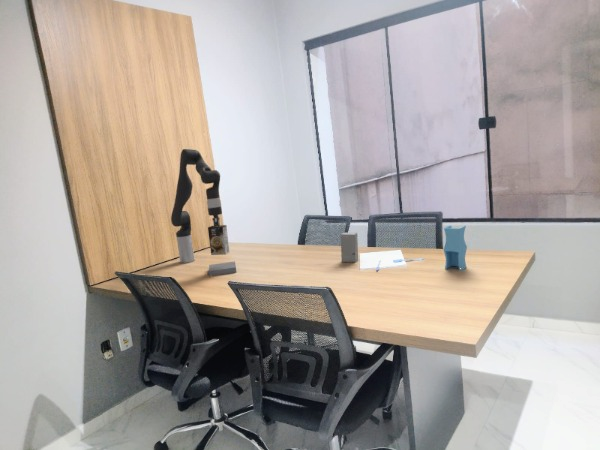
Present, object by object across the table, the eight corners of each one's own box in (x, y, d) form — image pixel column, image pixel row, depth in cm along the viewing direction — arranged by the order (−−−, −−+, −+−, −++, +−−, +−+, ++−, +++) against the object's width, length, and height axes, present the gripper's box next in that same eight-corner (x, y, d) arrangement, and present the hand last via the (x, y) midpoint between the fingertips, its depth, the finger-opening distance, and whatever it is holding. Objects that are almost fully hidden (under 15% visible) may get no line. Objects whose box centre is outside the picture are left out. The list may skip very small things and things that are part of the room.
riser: (210, 269, 244) (209, 264, 244) (235, 266, 247) (234, 261, 246) (209, 276, 230) (208, 271, 229) (236, 272, 232) (235, 267, 232)
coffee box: (210, 255, 235) (207, 227, 232) (215, 252, 241) (211, 225, 238) (225, 254, 233) (222, 226, 230) (230, 252, 239) (226, 224, 236)
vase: (467, 266, 200) (465, 225, 197) (460, 270, 194) (459, 228, 191) (451, 265, 205) (449, 225, 202) (444, 269, 200) (442, 228, 196)
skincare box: (341, 262, 231) (339, 234, 229) (345, 259, 238) (342, 232, 235) (356, 262, 228) (354, 234, 225) (359, 259, 234) (357, 231, 232)
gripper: (221, 206, 226) (224, 236, 229) (221, 204, 240) (224, 232, 243) (207, 208, 225) (211, 237, 228) (207, 205, 239) (211, 233, 241)
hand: (218, 234), depth 235 cm, fingers closed on coffee box, 8 cm apart
